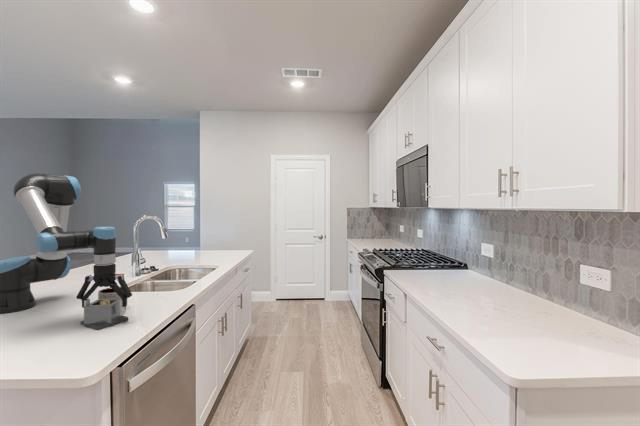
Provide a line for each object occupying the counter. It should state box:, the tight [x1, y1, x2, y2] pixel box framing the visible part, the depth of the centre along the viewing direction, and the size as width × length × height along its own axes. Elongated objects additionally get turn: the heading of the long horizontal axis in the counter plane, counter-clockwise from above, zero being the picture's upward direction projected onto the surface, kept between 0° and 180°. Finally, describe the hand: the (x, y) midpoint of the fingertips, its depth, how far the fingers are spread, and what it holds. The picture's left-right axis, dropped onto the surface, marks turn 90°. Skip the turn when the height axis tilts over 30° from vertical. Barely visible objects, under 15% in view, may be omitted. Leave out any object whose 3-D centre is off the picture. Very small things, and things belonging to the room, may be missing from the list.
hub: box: [80, 300, 129, 331], centre depth 129 cm, size 12×12×9 cm
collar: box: [83, 298, 125, 324], centre depth 129 cm, size 10×10×7 cm
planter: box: [97, 286, 127, 309], centre depth 144 cm, size 11×11×10 cm
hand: (104, 314), depth 129 cm, fingers open, 13 cm apart
